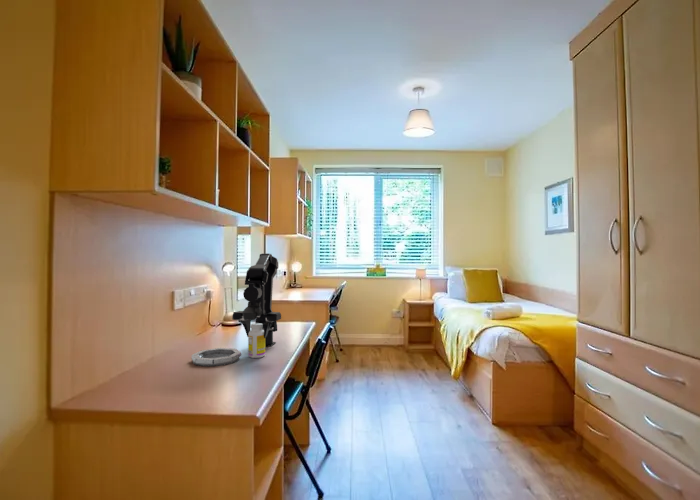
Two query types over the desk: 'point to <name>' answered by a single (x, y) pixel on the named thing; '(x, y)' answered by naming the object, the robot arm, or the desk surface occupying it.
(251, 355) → the supplement bottle
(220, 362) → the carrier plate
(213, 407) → the desk surface
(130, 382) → the desk surface
